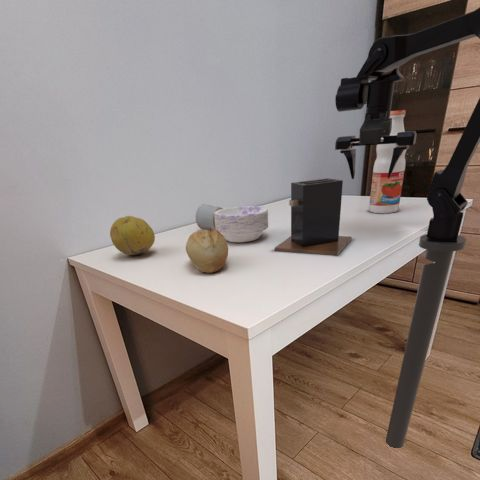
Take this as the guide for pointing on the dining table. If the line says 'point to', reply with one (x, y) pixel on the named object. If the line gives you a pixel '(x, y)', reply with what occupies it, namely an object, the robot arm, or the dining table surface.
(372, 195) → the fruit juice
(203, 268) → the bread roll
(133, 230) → the fruit
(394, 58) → the robot arm
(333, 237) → the toaster
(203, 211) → the ceramic mug
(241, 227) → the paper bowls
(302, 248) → the board
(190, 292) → the dining table surface
